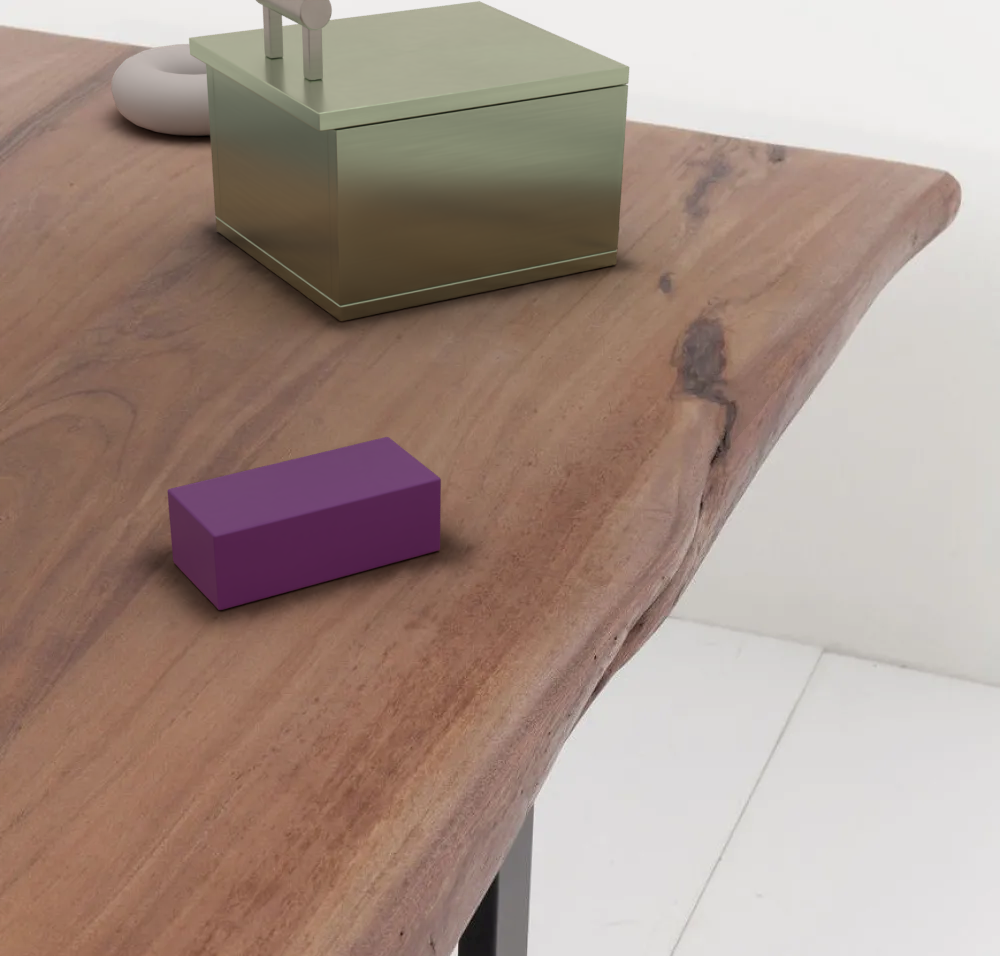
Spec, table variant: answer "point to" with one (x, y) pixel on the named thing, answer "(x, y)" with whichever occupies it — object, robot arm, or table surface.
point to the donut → (164, 91)
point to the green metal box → (419, 196)
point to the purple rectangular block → (304, 521)
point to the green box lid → (399, 62)
